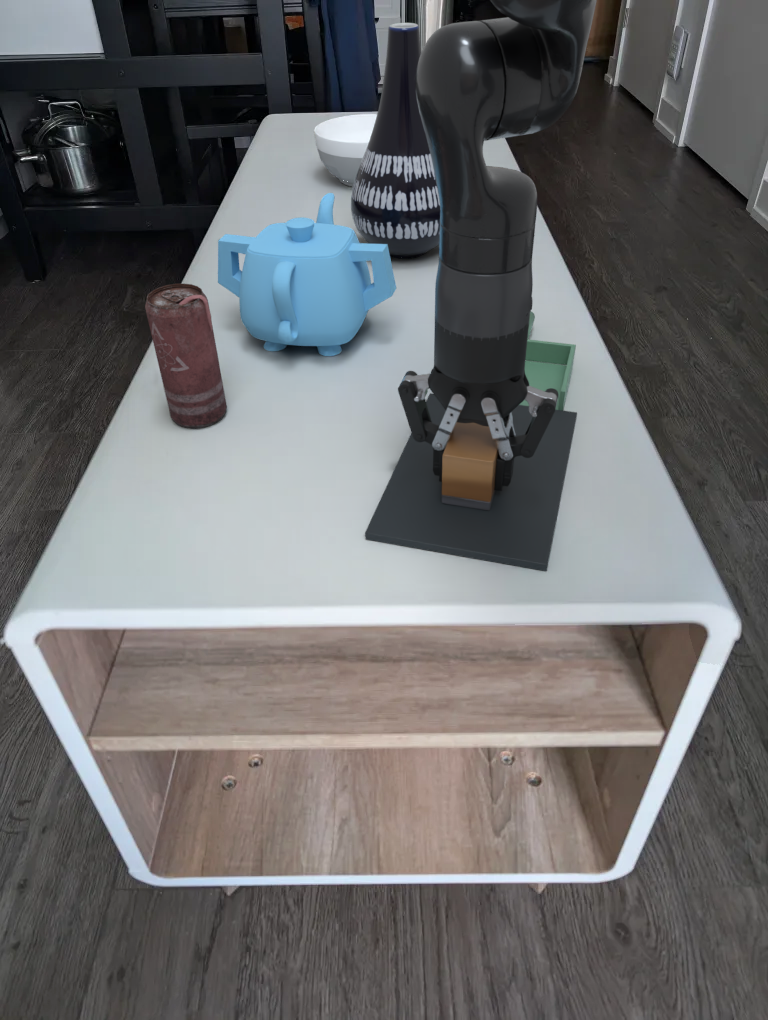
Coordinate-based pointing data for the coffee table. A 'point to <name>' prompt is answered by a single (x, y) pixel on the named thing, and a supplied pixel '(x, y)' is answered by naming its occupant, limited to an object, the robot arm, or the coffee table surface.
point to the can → (186, 354)
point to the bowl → (344, 144)
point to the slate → (474, 532)
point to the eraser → (469, 467)
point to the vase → (398, 161)
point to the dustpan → (549, 366)
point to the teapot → (305, 281)
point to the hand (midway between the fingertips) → (472, 480)
